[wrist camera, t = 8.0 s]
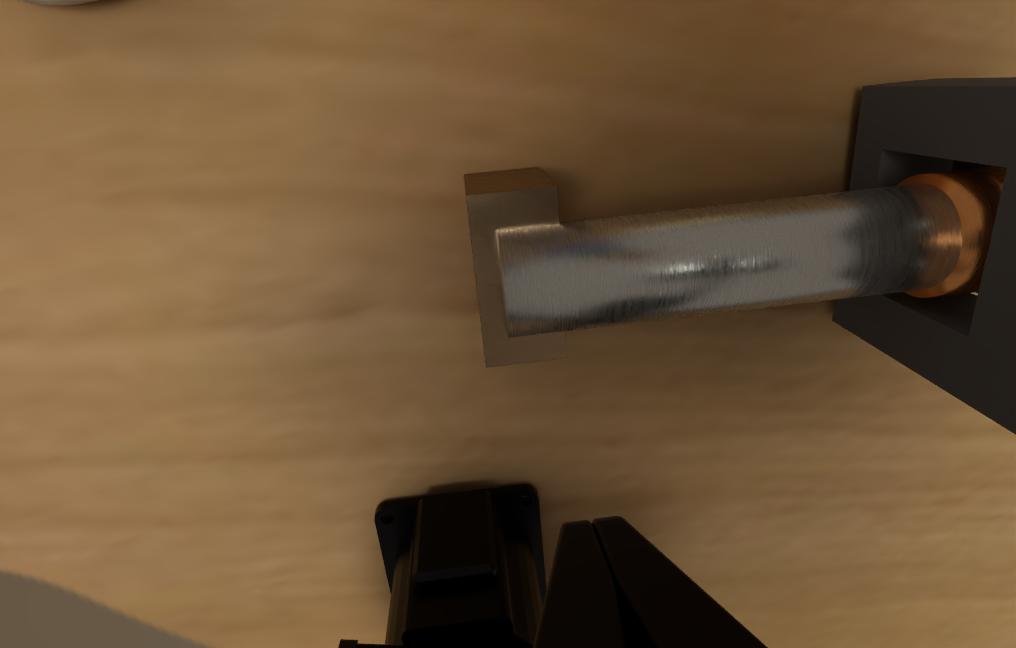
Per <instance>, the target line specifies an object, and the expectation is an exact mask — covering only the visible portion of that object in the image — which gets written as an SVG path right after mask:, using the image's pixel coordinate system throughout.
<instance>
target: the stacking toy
mask: <svg viewBox="0 0 1016 648" xmlns="http://www.w3.org/2000/svg"><path fill="white" fill-rule="evenodd" d="M18 1H22V2H27V3H33V4H40V5H60V6H64V5H76V4H83V3H89V2H94V1H98V0H18Z"/></svg>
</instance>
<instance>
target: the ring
mask: <svg viewBox="0 0 1016 648" xmlns="http://www.w3.org/2000/svg"><path fill="white" fill-rule="evenodd" d="M954 160H958V161H964V162H971V163H978V164H985V165H991V166H998V167H1005V168H1007V170H1006V174H1005V179H1004V183H1003V187H1002V192H1001V196H1000V200H999V205H998V209H997V214H996V218H995V222H994V227H993V231H992V235H991V240H990V244H989V248H988V253H987V257H986V262H985V266H984V270H983V275H982V279H981V283H980V288H979V292H978V296H976V295H974V294H971V293H963V294H954V295H946V296H937V297H929V298H919V297H914V296H911V295H909V294H907V293H905V292H896V293H888V294H879V295H870V296H862V297H853V298H845V299H836V300H835V304H834V311H833V319H832V321H834V322H835V323H837V324H839V325H840V326H842V327H843V328H845V329H847V330H848V331H850V332H852V333H853V334H855V335H856V336H858V337H860V338H861V339H863V340H864V341H866V342H868V343H869V344H871V345H872V346H874V347H876V348H877V349H879V350H880V351H882V352H884V353H885V354H887V355H889V356H890V357H892V358H893V359H895V360H897V361H898V362H900V363H901V364H903V365H905V366H906V367H908V368H909V369H911V370H913V371H914V372H916V373H918V374H919V375H921V376H922V377H924V378H926V379H927V380H929V381H930V382H932V383H934V384H935V385H937V386H938V387H940V388H942V389H943V390H945V391H947V392H948V393H950V394H951V395H953V396H955V397H956V398H958V399H959V400H961V401H963V402H964V403H966V404H967V405H969V406H971V407H972V408H974V409H975V410H977V411H979V412H980V413H982V414H984V415H985V416H987V417H988V418H990V419H992V420H993V421H995V422H996V423H998V424H1000V425H1001V426H1003V427H1004V428H1006V429H1008V430H1009V431H1011V432H1013V433H1014V434H1016V77H1015V78H951V79H929V80H919V81H909V82H899V83H889V84H879V85H869V86H863V90H862V97H861V105H860V113H859V120H858V128H857V136H856V143H855V151H854V159H853V166H852V174H851V181H850V189H849V191H854V190H863V189H872V188H882V187H891V186H897V185H898V184H899V183H900V182H902V181H903V180H905V179H907V178H909V177H911V176H914V175H918V174H927V173H937V172H946V171H952V166H953V161H954Z"/></svg>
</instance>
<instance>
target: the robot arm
mask: <svg viewBox="0 0 1016 648" xmlns="http://www.w3.org/2000/svg"><path fill="white" fill-rule="evenodd" d="M523 496H530V497H529V498H528V499H526V500H525V499H521V498H522V497H523ZM386 513H387V514H391V515H393V516H391V517H386V516H384V515H383V514H386ZM375 525H376V529H377V534H378V538H379V543H380V547H381V551H382V556H383V560H384V565H385V569H386V574H387V578H388V583H389V587H390V592H391V600H390V608H389V616H388V624H387V632H386V640H385V645H384V644H358V640H343V639H341V640H340V644H339V647H338V648H768V647H766V646H765V645H764V644H763V643H762V642H761V641H760V640H759V639H758V638H756V637H755V636H754V635H753V634H752V633H751V632H750V631H749V630H747V629H746V628H745V627H744V626H743V625H742V624H741V623H740V622H739V621H737V620H736V619H735V618H734V617H733V616H732V615H731V614H730V613H728V612H727V611H726V610H725V609H724V608H723V607H722V606H721V605H720V604H718V603H717V602H716V601H715V600H714V599H713V598H712V597H711V596H710V595H708V594H707V593H706V592H705V591H704V590H703V589H702V588H701V587H699V586H698V585H697V584H696V583H695V582H694V581H693V580H692V579H691V578H689V577H688V576H687V575H686V574H685V573H684V572H683V571H682V570H680V569H679V568H678V567H677V566H676V565H675V564H674V563H673V562H672V561H670V560H669V559H668V558H667V557H666V556H665V555H664V554H663V553H662V552H660V551H659V550H658V549H657V548H656V547H655V546H654V545H653V544H651V543H650V542H649V541H648V540H647V539H646V538H645V537H644V536H643V535H641V534H640V533H639V532H638V531H637V530H636V529H635V528H634V527H632V526H631V525H630V524H629V523H628V522H627V521H626V520H625V519H623V518H622V517H620V516H612V517H604V518H597V519H594V520H593V522H592V523H591V522H590V521H588V520H581V521H573V522H566V523H564V524H563V525H562V526H561V529H560V534H559V538H558V542H557V547H556V551H555V555H554V560H553V564H552V568H551V573H550V577H549V581H548V585H547V590H546V580H545V568H544V557H543V545H542V534H541V523H540V511H539V500H538V494H537V491H536V489H535V488H534V487H533V486H531V485H529V484H522V485H514V486H506V487H499V488H491V489H482V490H474V491H466V492H458V493H451V494H443V495H435V496H427V497H420V498H412V499H405V500H397V501H389V502H384V503H381V504H380V505H379V506H378V507H377V509H376V512H375Z"/></svg>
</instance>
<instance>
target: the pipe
mask: <svg viewBox="0 0 1016 648" xmlns="http://www.w3.org/2000/svg"><path fill="white" fill-rule="evenodd" d="M1006 170H1007V168H1005V167H998V166H991V165H985V164H978V163H971V162H964V161H958V160H954V161H953V166H952V171H946V172H937V173H927V174H918V175H914V176H911V177H909V178H907V179H905V180H903V181H902V182H900V183H899V184H898V185H897V186H891V187H882V188H872V189H863V190H854V191H845V192H836V193H826V194H817V195H808V196H799V197H790V198H780V199H771V200H762V201H753V202H744V203H734V204H725V205H716V206H707V207H698V208H688V209H679V210H670V211H661V212H652V213H642V214H633V215H624V216H615V217H606V218H596V219H587V220H578V221H569V222H559V208H558V190H557V186H556V185H555V184H554V183H553V182H552V181H551V180H550V179H549V178H548V177H547V176H546V175H545V174H544V173H543V172H542V171H541V170H540V169H539V168H538V167H532V168H522V169H513V170H503V171H494V172H484V173H475V174H465V175H464V181H465V191H466V200H467V209H468V217H469V226H470V235H471V243H472V252H473V260H474V269H475V277H476V286H477V294H478V303H479V312H480V320H481V329H482V337H483V346H484V354H485V363H486V367H495V366H503V365H512V364H520V363H528V362H537V361H545V360H554V359H562V358H567V347H566V331H571V330H579V329H588V328H596V327H605V326H614V325H622V324H631V323H639V322H648V321H656V320H665V319H673V318H682V317H691V316H699V315H708V314H716V313H725V312H733V311H742V310H751V309H759V308H768V307H776V306H785V305H793V304H802V303H810V302H819V301H828V300H836V299H845V298H853V297H862V296H870V295H879V294H888V293H896V292H905V293H907V294H909V295H911V296H914V297H919V298H929V297H937V296H946V295H954V294H963V293H971V292H976V293H978V292H979V288H980V283H981V279H982V275H983V270H984V266H985V262H986V257H987V253H988V248H989V244H990V240H991V235H992V231H993V227H994V222H995V218H996V214H997V209H998V205H999V200H1000V196H1001V192H1002V187H1003V183H1004V179H1005V174H1006Z"/></svg>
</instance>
